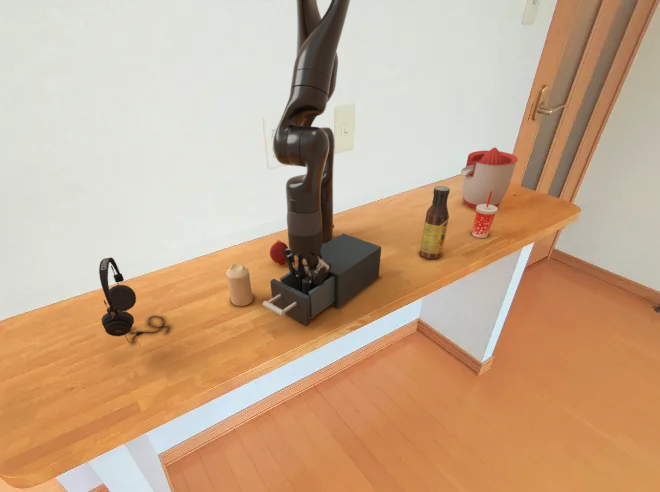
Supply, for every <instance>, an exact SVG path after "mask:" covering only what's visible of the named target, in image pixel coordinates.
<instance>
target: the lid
mask: <svg viewBox="0 0 660 492" xmlns="http://www.w3.org/2000/svg"><path fill="white" fill-rule="evenodd" d="M299 292H301V291H299ZM301 293H303V294H305V295H307V296H309V294H308V277H304V278H303V279H302V292H301Z"/></svg>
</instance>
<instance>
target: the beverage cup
mask: <svg viewBox="0 0 660 492" xmlns="http://www.w3.org/2000/svg"><path fill="white" fill-rule="evenodd" d="M491 194H492V191H490V195H489V199H488V202H487V204H479V205H477V206H476V210H475V215H474V221H473V226H472V227H473V228H472V233H471V234H472V236H473V237H475V238H479V239H485V238H487V237H488V236H489V233H490V230H491V227H492V225H493V221H494V219H495V216H496V213H498V210H499V208H498V207H496V206H493V205H490V204H489V201H490V198H491Z"/></svg>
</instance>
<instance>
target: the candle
mask: <svg viewBox="0 0 660 492" xmlns="http://www.w3.org/2000/svg"><path fill="white" fill-rule="evenodd" d="M225 275H226V280H227V284H228V290H229V296H230V300H231V303H232V304H233V305H234V306H236V307H245V306H248V305H249V304H251V303H252V302H253V300H254V299H253V298H254V297H253V291H252V284H251V278H250V270H249V268H248V267H246V266H244V265H243V264H240V263H239V264H237V263H236V264H235V263H234V264H232V265H231V266H230V267H229V268H228V269H227V270H226V272H225Z"/></svg>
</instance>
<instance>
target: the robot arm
mask: <svg viewBox="0 0 660 492" xmlns="http://www.w3.org/2000/svg"><path fill="white" fill-rule="evenodd" d="M350 3H351V0H331V1H330V3H329V5H328V8H327V10H326V11H325V13H324V15H323V16H321V13H320V10H319V6H318V1H317V0H296V18H297V19H296V20H297V21H296V25H297V27H296V29H297V31H296V33H297V34H296V37H297V38H296V55H295V56H296V57H295V60H294V64H293V69H292V77H291V84H290V91H289V96H288V100H287V102H286V105H285V108H284V110H283V113H282V115H281V117H280V120H279V121H278V122H279V123H278V124H277V126H276V130H275V132H274V136H273V139H272V149H273V155H274V157H275V159H276V161H277V162H278V163H279V164H281V165H284V166H292V167H303V168H306V173H305V174H299V175H295V176H292V177H291V178H288V179H287V181H286V183H285V197H286V226H287V238H288V239H287V240H288V249H286V250H284V251H283V255H284V258H285V260H286V262H285V263H286V264H287V267H288V270H289V272H291V273H292V274H295V275H296V278H297V280H298V288H299V291H301V292H302V279H303V278H304V277H308V294H309V291H311V290H312V289H314V288H315V287H317V286H318V284H319V283H321V282H323V281H324V280H325V278H326V276H327V274H328V273H329V271H330V269H331V267H332V266H331V264H330V263H327V264H326V263H325V262H324V261H323V260H322V255H321V252H320V251H321V247H322V245H324V244H325V243H327V242H329V241H330V240H332V239H334V229H335V225H334V166H335V165H334V164H335V163H334V162H335V134H334V132H333V130H332V128H330V127H327V126H325V127H319V126H312V125H313V123H314V122H315V119H317V117H318V116H321V115H323V114H324V113H325V111H326V108H327V105H328V104H329V103H328V102H329V101H330V100H331V98H332V97H333V95H334V92H335V90H336V87H337V86H336V85H337V77H338V68H339V55H338V53H337V51H338V47H339V44H340V40H341V37H342V33H343V29H344V26H345V22H346V18H347V15H348V11H349V7H350ZM318 271H319V272H318ZM305 274H306V275H307V276H305ZM312 276H314V277H312Z"/></svg>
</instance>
